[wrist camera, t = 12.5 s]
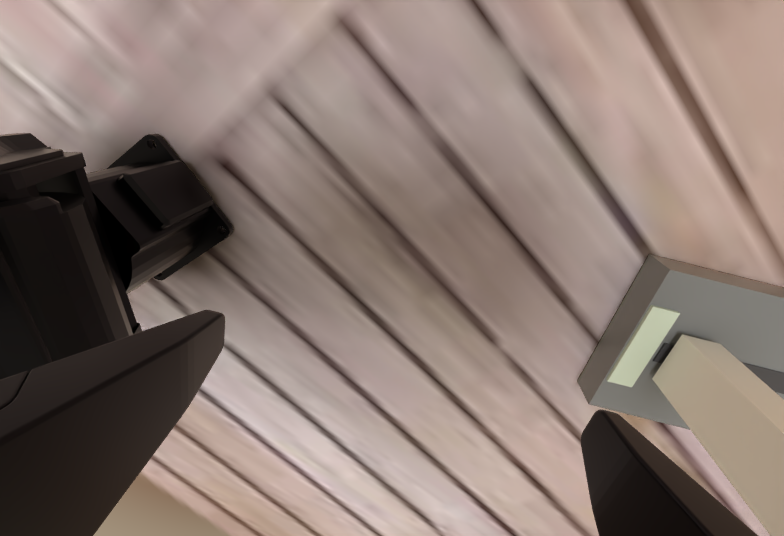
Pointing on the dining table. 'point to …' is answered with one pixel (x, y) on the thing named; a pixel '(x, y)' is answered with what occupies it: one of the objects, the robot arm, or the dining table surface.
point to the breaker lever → (731, 421)
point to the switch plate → (688, 317)
